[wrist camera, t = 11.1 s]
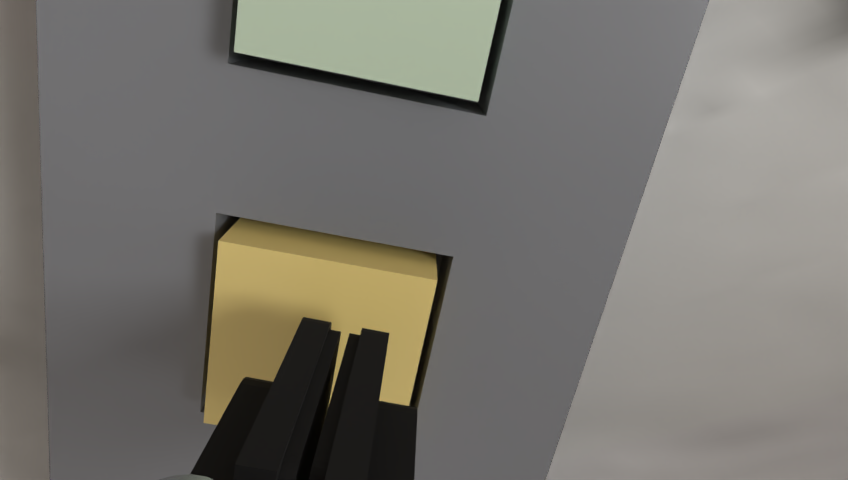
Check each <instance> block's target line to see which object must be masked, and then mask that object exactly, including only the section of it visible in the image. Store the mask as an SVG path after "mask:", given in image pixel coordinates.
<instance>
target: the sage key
mask: <svg viewBox="0 0 848 480" xmlns="http://www.w3.org/2000/svg"><path fill="white" fill-rule="evenodd" d="M500 3H501V0H238V8H237V20H236V32H235V45H234V52H236V53H241V54H246V55H251V56H256V57H261V58H266V59H271V60H275V61H280V62H285V63H290V64H295V65H300V66H305V67H310V68H315V69H319V70H324V71H329V72H334V73H339V74H344V75H349V76H354V77H358V78H363V79H368V80H373V81H378V82H383V83H388V84H393V85H398V86H402V87H407V88H412V89H417V90H422V91H427V92H432V93H437V94H442V95H446V96H451V97H456V98H461V99H466V100H471V101H476V102H478V100H479V96H480V91H481V87H482V83H483V78H484V74H485V69H486V65H487V61H488V56H489V52H490V47H491V43H492V38H493V34H494V30H495V25H496V21H497V16H498V12H499V8H500Z"/></svg>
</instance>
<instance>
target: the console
mask: <svg viewBox="0 0 848 480" xmlns="http://www.w3.org/2000/svg"><path fill="white" fill-rule="evenodd" d="M708 2H709V0H501V3H500V8H499V12H498V16H497V21H496V25H495V30H494V34H493V38H492V43H491V47H490V52H489V56H488V61H487V65H486V69H485V74H484V78H483V83H482V87H481V91H480V96H479V100H478V102H476V101H471V100H466V99H461V98H456V97H451V96H446V95H442V94H437V93H432V92H427V91H422V90H417V89H412V88H407V87H402V86H398V85H393V84H388V83H383V82H378V81H373V80H368V79H363V78H358V77H354V76H349V75H344V74H339V73H334V72H329V71H324V70H319V69H315V68H310V67H305V66H300V65H295V64H290V63H285V62H280V61H275V60H271V59H266V58H261V57H256V56H251V55H246V54H241V53H236V52H234V45H235V32H236V20H237V8H238V0H36V21H37V55H38V89H39V123H40V157H41V191H42V225H43V259H44V293H45V327H46V361H47V395H48V429H49V463H50V480H159V479H163V478H166V477H170V476H173V475H187V474H190V473H191V471H192V470H193V468H194V466H195V464H196V462H197V460H198V459H199V457H200V455H201V453H202V451H203V450H204V448H205V446H206V444H207V442H208V441H209V439H210V437H211V435H212V433H213V431H214V430H215V428H216V426H217V425H213V424H207V423H203V422H204V410H205V398H206V385H207V373H208V361H209V349H210V337H211V325H212V312H213V300H214V288H215V276H216V264H217V251H218V241H219V240H220V239H221V237H222V236H223V235H224V234H225V233H226V232H227V231H228V230H229V229H230V228H231V227H232V226H233V225H234V224H235V223H236V222H237V221H238V220H239V219H240V217H241V218H246V219H252V220H257V221H263V222H268V223H274V224H279V225H284V226H290V227H295V228H301V229H306V230H311V231H317V232H322V233H328V234H333V235H339V236H344V237H349V238H355V239H360V240H366V241H371V242H376V243H382V244H387V245H393V246H398V247H404V248H409V249H414V250H420V251H425V252H431V253H436V264H437V279H438V281H437V285H436V290H435V294H434V298H433V303H432V307H431V312H430V316H429V320H428V325H427V329H426V334H425V338H424V342H423V347H422V351H421V356H420V360H419V364H418V369H417V373H416V378H415V382H414V386H413V391H412V395H411V400H410V404H409V406H412V407H417V434H416V454H415V475H414V480H545V479H546V476H547V473H548V471H549V468H550V465H551V462H552V459H553V456H554V453H555V450H556V447H557V444H558V441H559V438H560V435H561V433H562V430H563V427H564V424H565V421H566V418H567V415H568V412H569V409H570V406H571V403H572V400H573V397H574V394H575V392H576V389H577V386H578V383H579V380H580V377H581V374H582V371H583V368H584V365H585V362H586V359H587V356H588V354H589V351H590V348H591V345H592V342H593V339H594V336H595V333H596V330H597V327H598V324H599V321H600V318H601V315H602V313H603V310H604V307H605V304H606V301H607V298H608V295H609V292H610V289H611V286H612V283H613V280H614V277H615V275H616V272H617V269H618V266H619V263H620V260H621V257H622V254H623V251H624V248H625V245H626V242H627V239H628V236H629V234H630V231H631V228H632V225H633V222H634V219H635V216H636V213H637V210H638V207H639V204H640V201H641V198H642V196H643V193H644V190H645V187H646V184H647V181H648V178H649V175H650V172H651V169H652V166H653V163H654V160H655V157H656V155H657V152H658V149H659V146H660V143H661V140H662V137H663V134H664V131H665V128H666V125H667V122H668V119H669V117H670V114H671V111H672V108H673V105H674V102H675V99H676V96H677V93H678V90H679V87H680V84H681V81H682V78H683V76H684V73H685V70H686V67H687V64H688V61H689V58H690V55H691V52H692V49H693V46H694V43H695V40H696V38H697V35H698V32H699V29H700V26H701V23H702V20H703V17H704V14H705V11H706V8H707V5H708Z"/></svg>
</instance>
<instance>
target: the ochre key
mask: <svg viewBox="0 0 848 480" xmlns="http://www.w3.org/2000/svg"><path fill="white" fill-rule="evenodd" d="M437 281H438V279H437V264H436V253H431V252H425V251H420V250H414V249H409V248H404V247H398V246H393V245H387V244H382V243H376V242H371V241H366V240H360V239H355V238H349V237H344V236H339V235H333V234H328V233H322V232H317V231H311V230H306V229H301V228H295V227H290V226H284V225H279V224H274V223H268V222H263V221H257V220H252V219H246V218H241V217H240V219H239V220H238V221H237V222H236V223H235V224H234V225H233V226H232V227H231V228H230V229H229V230H228V231H227V232H226V233H225V234H224V235H223V236H222V237H221V239H220V240H219V241H218V251H217V264H216V276H215V288H214V300H213V312H212V325H211V337H210V349H209V361H208V373H207V385H206V398H205V410H204V422H203V423H207V424H213V425H217V424H218V422H219V421H220V419H221V417H222V415H223V413H224V412H225V410H226V408H227V406H228V404H229V402H230V401H231V399H232V397H233V395H234V393H235V392H236V390H237V388H238V386H239V384H240V383H241V381H242V380H243V378H245V377H250V378H256V379H261V380H267V381H272V382H273V381H274V379H275V377H276V374H277V372H278V370H279V368H280V366H281V364H282V361H283V359H284V357H285V355H286V353H287V351H288V348H289V346H290V344H291V342H292V340H293V337H294V335H295V333H296V331H297V329H298V327H299V324H300V322H301V320H302V318H303V317H306V318H312V319H317V320H323V321H328V322H331V323H332V325H331V330H335V331H341V336H340V342H339V348H338V354H337V360H336V366H335V372H334V377H333V383H332V389H331V395H330V400H331V397H332V393H333V390H334V386H335V383H336V379H337V376H338V372H339V368H340V365H341V361H342V358H343V354H344V351H345V347H346V344H347V340H348V337H349V333H351V334H357V335H360V334H361V330H362V328H366V329H371V330H376V331H382V332H387V333H389V340H388V346H387V353H386V359H385V366H384V372H383V379H382V385H381V392H380V398H379V401H384V402H389V403H395V404H400V405H406V406H409V404H410V400H411V395H412V391H413V386H414V382H415V378H416V373H417V369H418V364H419V360H420V356H421V351H422V347H423V342H424V338H425V334H426V329H427V325H428V320H429V316H430V312H431V307H432V303H433V298H434V294H435V290H436V285H437ZM329 404H330V401H329Z"/></svg>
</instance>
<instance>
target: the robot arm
mask: <svg viewBox="0 0 848 480" xmlns="http://www.w3.org/2000/svg"><path fill="white" fill-rule="evenodd" d="M331 325H332V323H331V322H328V321H323V320H317V319H312V318H306V317H303V318H302V320H301V322H300V324H299V327H298V329H297V331H296V333H295V335H294V337H293V340H292V342H291V344H290V346H289V348H288V351H287V353H286V355H285V357H284V359H283V361H282V364H281V366H280V368H279V370H278V372H277V374H276V377H275V379H274V381H273V382H272V381H267V380H261V379H256V378H250V377H245V378H243V380H242V381H241V383H240V384H239V386H238V388H237V390H236V392H235V393H234V395H233V397H232V399H231V401H230V402H229V404H228V406H227V408H226V410H225V412H224V413H223V415H222V417H221V419H220V421H219V422H218V424H217V426H216V428H215V430H214V431H213V433H212V435H211V437H210V439H209V441H208V442H207V444H206V446H205V448H204V450H203V451H202V453H201V455H200V457H199V459H198V460H197V462H196V464H195V466H194V468H193V470H192V471H191V473H190V474H187V475H173V476H170V477H166V478H163V479H159V480H414V475H415V454H416V434H417V407H412V406H406V405H400V404H395V403H389V402H384V401H379V398H380V392H381V385H382V379H383V372H384V366H385V359H386V353H387V346H388V340H389V333H387V332H382V331H376V330H371V329H366V328H362V330H361V334H360V335H357V334H351V333H349V337H348V340H347V344H346V347H345V351H344V354H343V358H342V361H341V365H340V368H339V372H338V376H337V379H336V383H335V386H334V390H333V393H332V397H331V400H330V395H331V389H332V383H333V377H334V372H335V366H336V360H337V354H338V348H339V342H340V336H341V331H335V330H331ZM329 401H330V404H329Z"/></svg>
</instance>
